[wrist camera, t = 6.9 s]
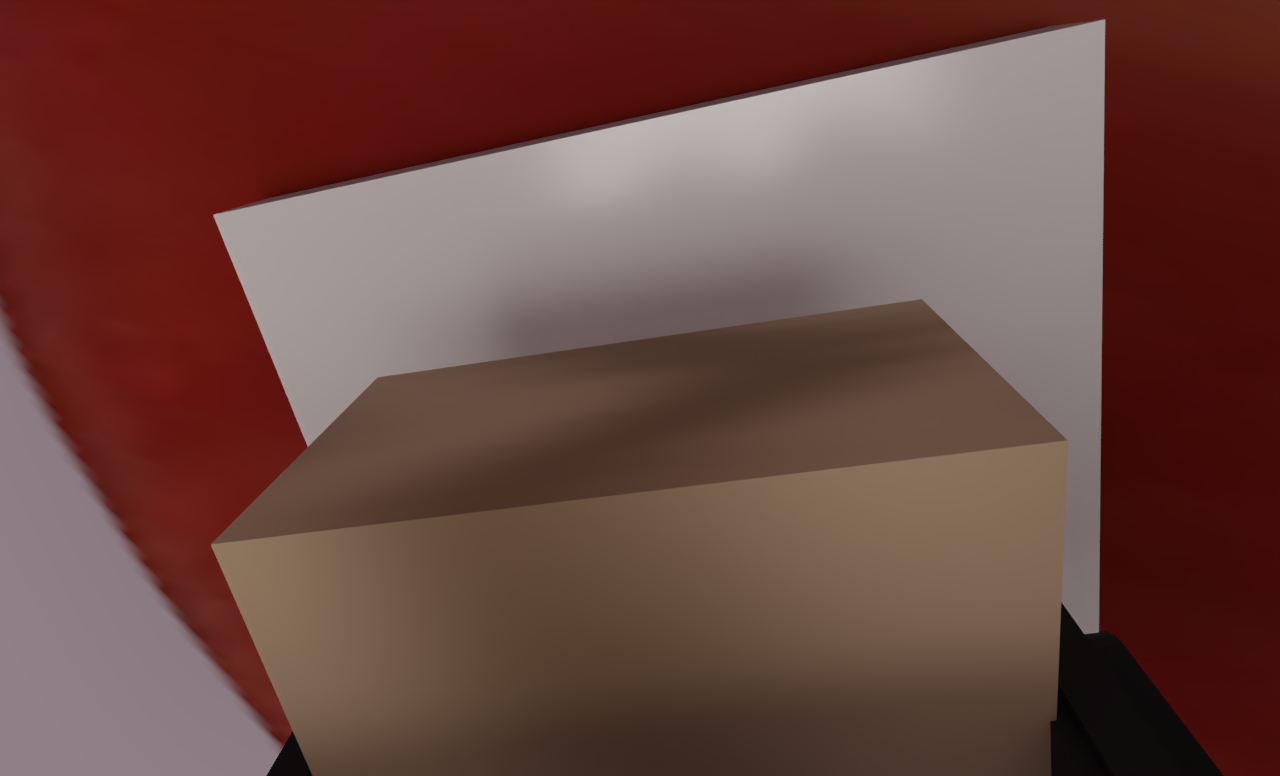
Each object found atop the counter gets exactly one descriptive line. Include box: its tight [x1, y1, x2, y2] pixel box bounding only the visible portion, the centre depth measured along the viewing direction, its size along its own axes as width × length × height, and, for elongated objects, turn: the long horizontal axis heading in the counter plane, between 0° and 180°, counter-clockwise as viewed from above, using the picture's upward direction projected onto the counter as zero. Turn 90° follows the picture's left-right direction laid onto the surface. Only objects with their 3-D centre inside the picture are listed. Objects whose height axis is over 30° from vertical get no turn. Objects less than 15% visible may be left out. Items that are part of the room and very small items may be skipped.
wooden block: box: [211, 299, 1068, 776], centre depth 10 cm, size 7×9×4 cm
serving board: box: [213, 20, 1105, 634], centre depth 17 cm, size 16×14×2 cm
